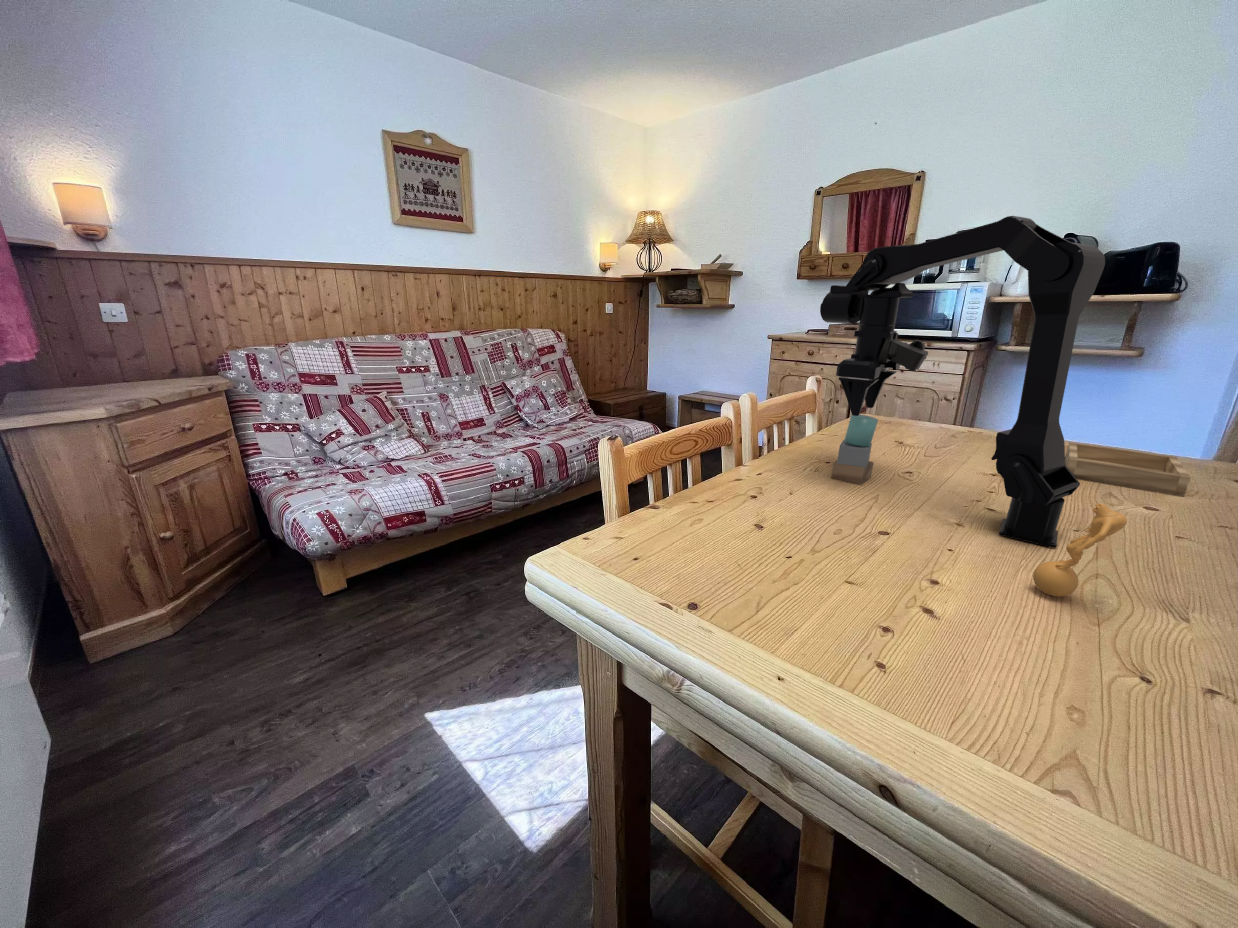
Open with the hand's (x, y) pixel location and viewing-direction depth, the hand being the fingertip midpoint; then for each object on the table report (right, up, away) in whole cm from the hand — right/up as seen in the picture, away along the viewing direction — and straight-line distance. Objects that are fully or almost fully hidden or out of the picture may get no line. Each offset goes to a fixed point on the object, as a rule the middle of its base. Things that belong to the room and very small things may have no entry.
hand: (862, 411), depth 93 cm
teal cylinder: (0, -6, +1) cm, 6 cm away
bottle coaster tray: (+53, -12, +5) cm, 54 cm away
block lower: (-1, -13, +3) cm, 13 cm away
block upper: (-1, -9, +2) cm, 10 cm away
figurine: (+6, -26, -35) cm, 44 cm away
